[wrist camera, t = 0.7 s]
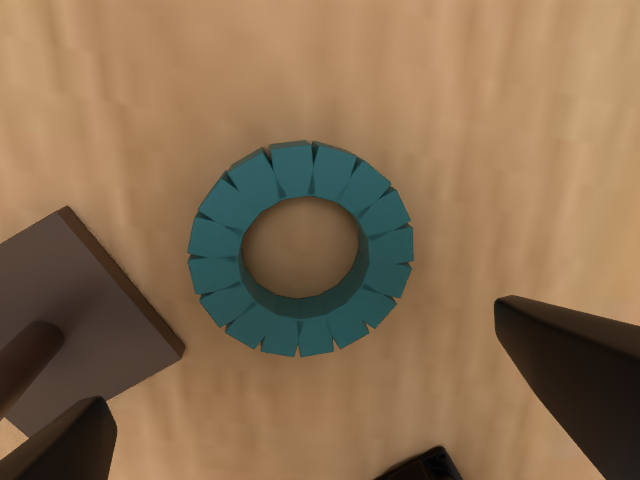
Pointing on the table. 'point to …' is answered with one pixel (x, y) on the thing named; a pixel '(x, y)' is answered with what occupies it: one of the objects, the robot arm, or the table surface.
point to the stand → (71, 324)
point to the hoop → (311, 312)
